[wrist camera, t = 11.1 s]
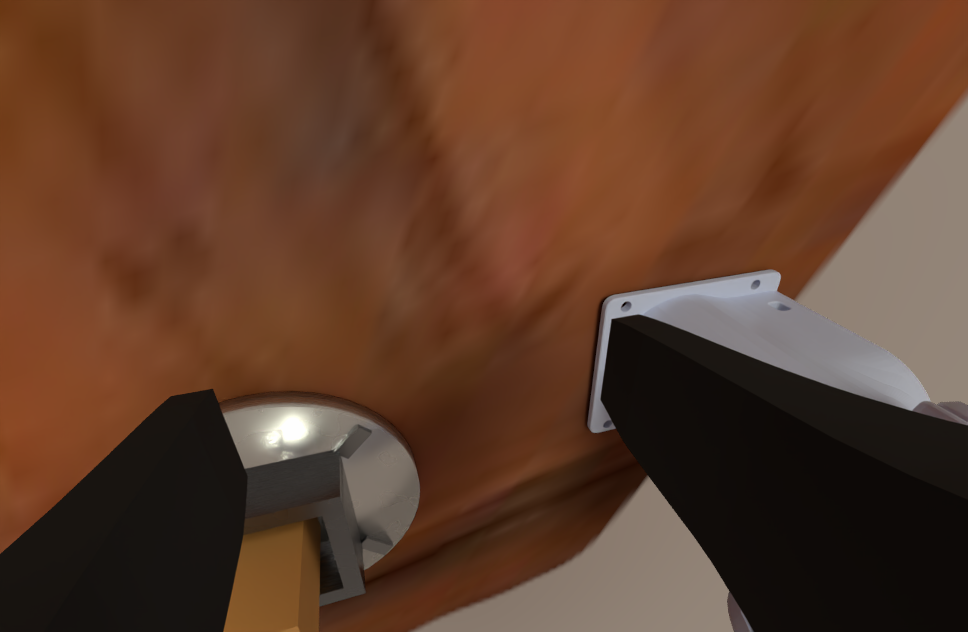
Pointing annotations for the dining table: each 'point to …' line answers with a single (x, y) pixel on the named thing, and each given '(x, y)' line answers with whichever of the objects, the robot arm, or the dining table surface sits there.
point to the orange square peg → (277, 580)
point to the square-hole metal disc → (326, 478)
